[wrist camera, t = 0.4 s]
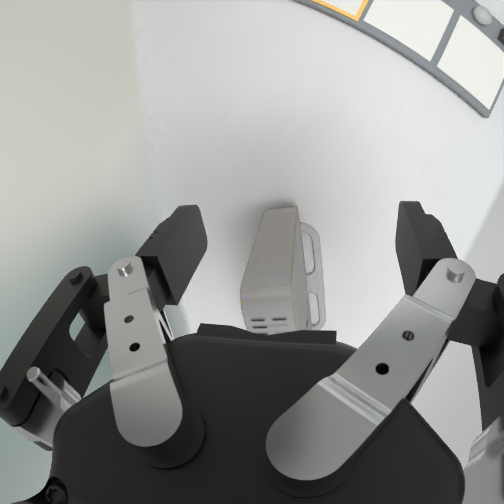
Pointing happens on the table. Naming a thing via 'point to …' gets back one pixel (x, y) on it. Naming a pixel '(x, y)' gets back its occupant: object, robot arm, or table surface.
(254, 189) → the table surface
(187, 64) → the table surface
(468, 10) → the board
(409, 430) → the robot arm
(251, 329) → the network device
